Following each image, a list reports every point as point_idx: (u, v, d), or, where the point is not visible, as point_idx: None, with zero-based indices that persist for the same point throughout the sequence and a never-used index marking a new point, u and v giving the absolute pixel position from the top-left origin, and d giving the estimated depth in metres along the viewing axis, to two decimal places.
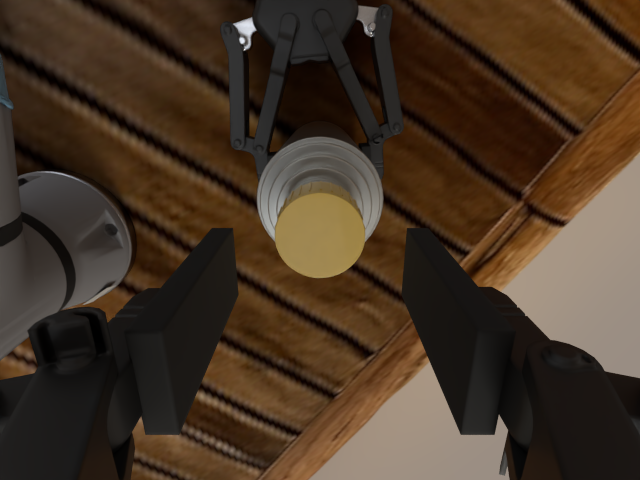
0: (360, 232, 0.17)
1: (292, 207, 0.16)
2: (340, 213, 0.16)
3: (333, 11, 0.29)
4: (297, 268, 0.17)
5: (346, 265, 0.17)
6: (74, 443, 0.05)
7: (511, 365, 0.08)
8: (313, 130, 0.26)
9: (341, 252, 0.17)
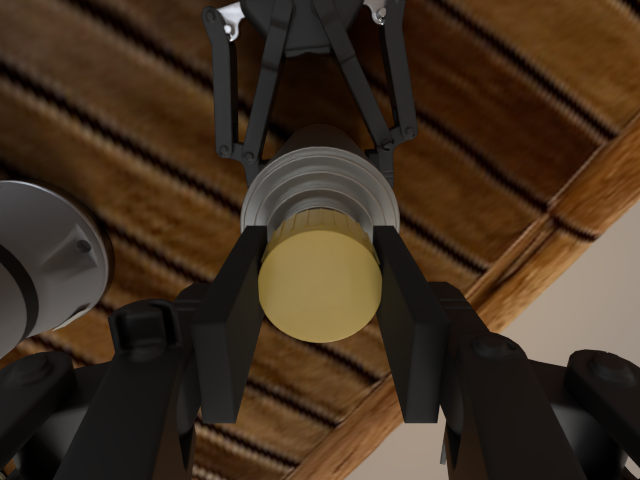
0: (376, 283, 0.12)
1: (281, 250, 0.12)
2: (348, 258, 0.12)
3: None
4: (289, 330, 0.13)
5: (356, 326, 0.12)
6: (149, 431, 0.05)
7: (447, 354, 0.08)
8: (312, 136, 0.22)
9: (349, 309, 0.12)
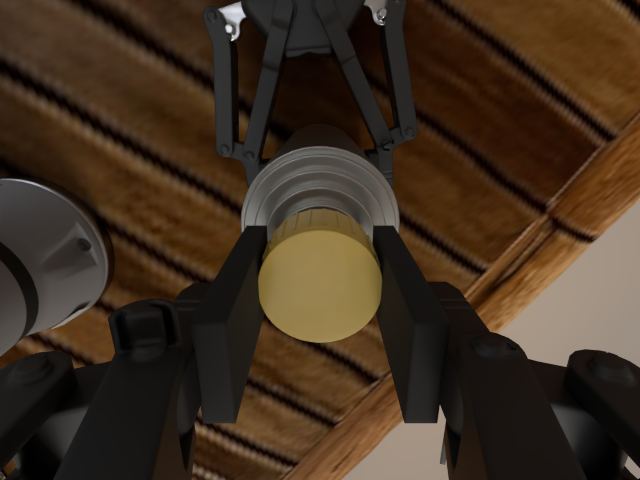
0: (295, 241, 0.11)
1: (292, 330, 0.13)
2: (278, 275, 0.12)
3: None
4: (374, 303, 0.12)
5: (350, 243, 0.11)
6: (150, 431, 0.05)
7: (447, 354, 0.08)
8: (312, 136, 0.22)
9: (333, 256, 0.12)
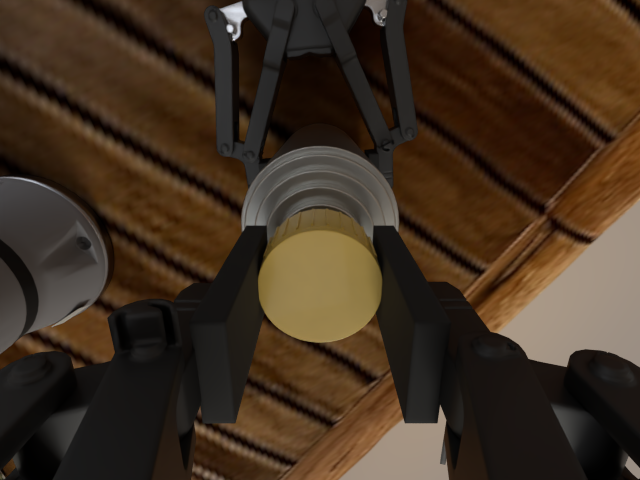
0: (280, 322, 0.12)
1: (374, 300, 0.12)
2: (317, 327, 0.12)
3: None
4: (318, 234, 0.11)
5: (263, 278, 0.12)
6: (149, 431, 0.05)
7: (447, 354, 0.08)
8: (312, 136, 0.22)
9: (282, 289, 0.12)
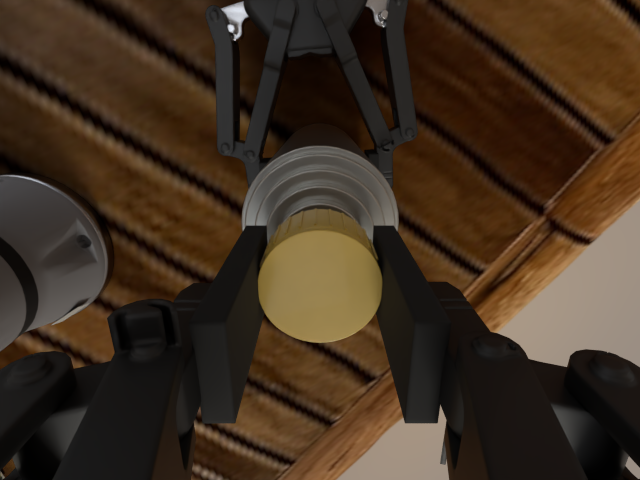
0: (368, 313, 0.12)
1: (314, 236, 0.11)
2: (363, 279, 0.12)
3: None
4: (266, 306, 0.12)
5: (325, 338, 0.13)
6: (149, 431, 0.05)
7: (448, 354, 0.08)
8: (313, 135, 0.22)
9: (330, 321, 0.12)
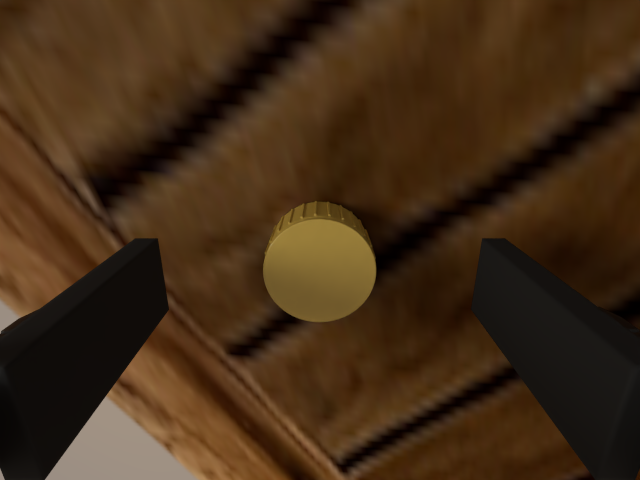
0: (363, 295, 0.14)
1: (315, 225, 0.13)
2: (358, 264, 0.13)
3: None
4: (271, 289, 0.14)
5: (324, 318, 0.14)
6: None
7: None
8: None
9: (329, 302, 0.14)
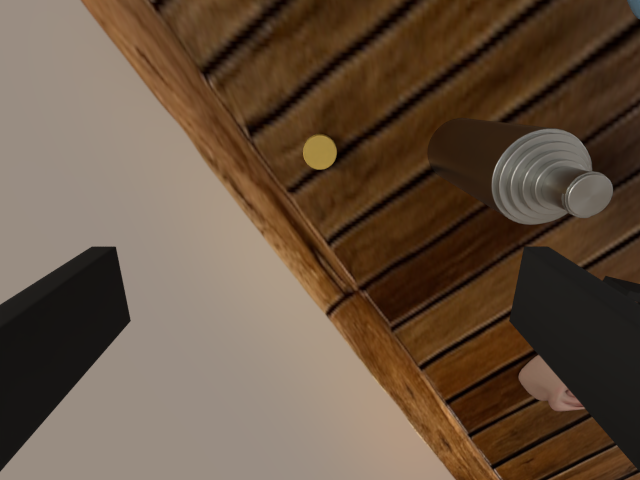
0: (332, 160, 0.45)
1: (318, 137, 0.44)
2: (331, 149, 0.45)
3: None
4: (305, 158, 0.45)
5: (321, 167, 0.46)
6: None
7: None
8: None
9: (322, 162, 0.45)
